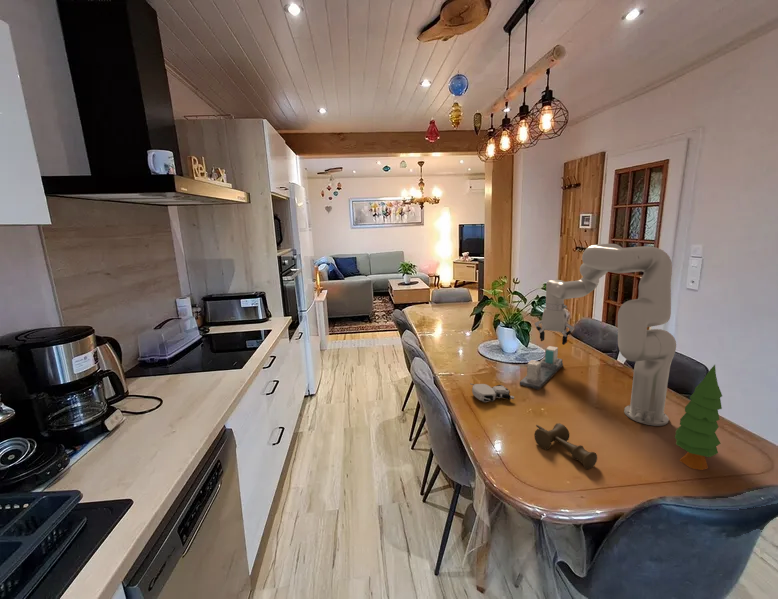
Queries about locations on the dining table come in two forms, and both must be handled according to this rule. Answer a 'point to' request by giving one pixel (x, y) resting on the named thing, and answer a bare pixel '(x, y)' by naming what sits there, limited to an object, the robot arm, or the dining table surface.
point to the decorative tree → (700, 423)
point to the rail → (543, 377)
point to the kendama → (564, 444)
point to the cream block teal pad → (551, 354)
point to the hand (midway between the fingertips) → (553, 342)
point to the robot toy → (490, 392)
